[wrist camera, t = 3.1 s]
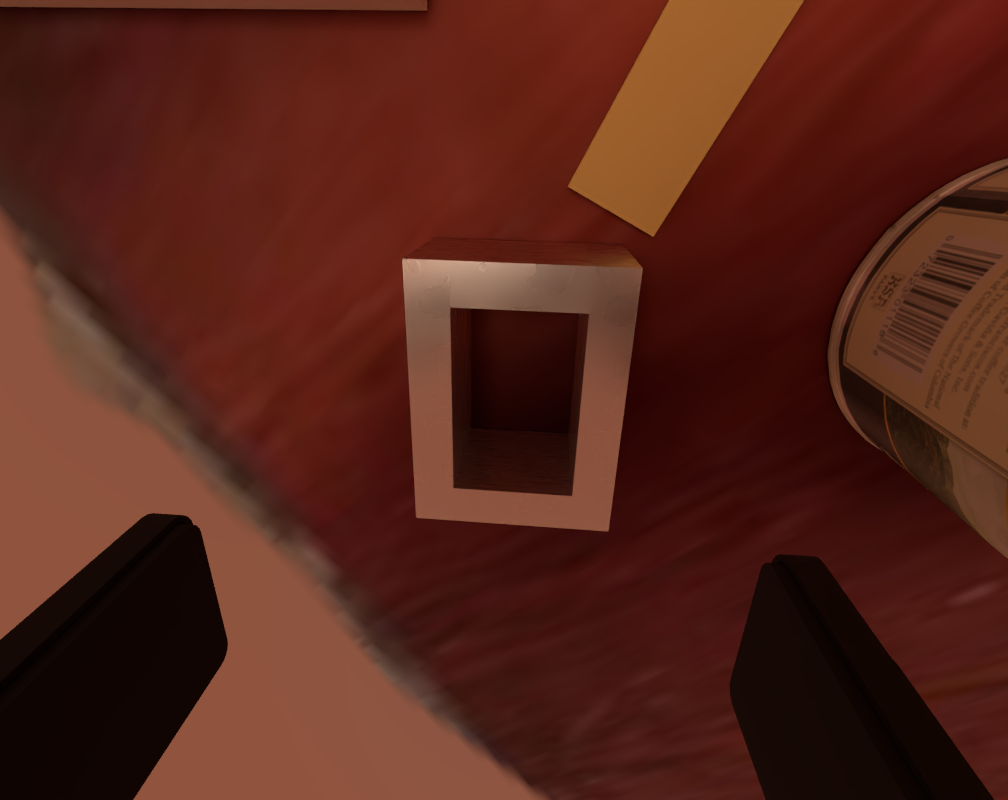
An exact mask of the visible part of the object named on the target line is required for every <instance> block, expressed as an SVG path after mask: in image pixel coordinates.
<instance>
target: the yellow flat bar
mask: <svg viewBox="0 0 1008 800" xmlns="http://www.w3.org/2000/svg"><path fill="white" fill-rule="evenodd" d="M803 1H804V0H668V2H667V4H666V6H665V8H664V9H663V11H662V13H661V15H660V17H659V19H658V21H657V22H656V24H655V26H654V28H653V30H652V32H651V33H650V35H649V37H648V39H647V41H646V43H645V44H644V46H643V48H642V50H641V52H640V54H639V55H638V57H637V59H636V61H635V63H634V65H633V67H632V68H631V70H630V72H629V74H628V76H627V78H626V79H625V81H624V83H623V85H622V87H621V89H620V90H619V92H618V94H617V96H616V98H615V100H614V101H613V103H612V105H611V107H610V109H609V111H608V113H607V114H606V116H605V118H604V120H603V122H602V124H601V125H600V127H599V129H598V131H597V133H596V135H595V136H594V138H593V140H592V142H591V144H590V146H589V148H588V149H587V151H586V153H585V155H584V157H583V159H582V160H581V162H580V164H579V166H578V168H577V170H576V171H575V173H574V175H573V177H572V179H571V181H570V182H569V184H568V187H569V188H571V189H573V190H574V191H576V192H578V193H579V194H581V195H583V196H584V197H586V198H588V199H590V200H591V201H593V202H595V203H596V204H598V205H600V206H601V207H603V208H605V209H607V210H608V211H610V212H612V213H613V214H615V215H617V216H618V217H620V218H622V219H624V220H625V221H627V222H629V223H630V224H632V225H634V226H635V227H637V228H639V229H641V230H642V231H644V232H646V233H647V234H649V235H651V236H652V237H654V235H655V234H656V232H657V231H658V229H659V227H660V226H661V224H662V223H663V221H664V220H665V218H666V216H667V215H668V213H669V212H670V210H671V209H672V207H673V205H674V204H675V202H676V201H677V199H678V198H679V196H680V194H681V193H682V191H683V190H684V188H685V187H686V185H687V183H688V182H689V180H690V179H691V177H692V176H693V174H694V173H695V171H696V169H697V168H698V166H699V165H700V163H701V162H702V160H703V158H704V157H705V155H706V154H707V152H708V151H709V149H710V147H711V146H712V144H713V143H714V141H715V140H716V138H717V136H718V135H719V133H720V132H721V130H722V129H723V127H724V125H725V124H726V122H727V121H728V119H729V118H730V116H731V114H732V113H733V111H734V110H735V108H736V107H737V105H738V103H739V102H740V100H741V99H742V97H743V96H744V94H745V92H746V91H747V89H748V88H749V86H750V85H751V83H752V81H753V80H754V78H755V77H756V75H757V74H758V72H759V70H760V69H761V67H762V66H763V64H764V63H765V61H766V59H767V58H768V56H769V55H770V53H771V52H772V50H773V48H774V47H775V45H776V44H777V42H778V41H779V39H780V37H781V36H782V34H783V33H784V31H785V30H786V28H787V27H788V25H789V23H790V22H791V20H792V19H793V17H794V16H795V14H796V12H797V11H798V9H799V8H800V6H801V5H802V3H803Z"/></svg>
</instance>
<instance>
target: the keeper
mask: <svg viewBox="0 0 1008 800" xmlns="http://www.w3.org/2000/svg"><path fill="white" fill-rule="evenodd" d="M0 7H82V8H193V9H304V10H415V11H427V0H0Z"/></svg>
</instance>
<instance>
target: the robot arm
mask: <svg viewBox="0 0 1008 800" xmlns="http://www.w3.org/2000/svg"><path fill="white" fill-rule="evenodd" d="M227 646H228V642H227V636H226V632H225V628H224V624H223V620H222V616H221V612H220V608H219V604H218V600H217V596H216V591H215V587H214V583H213V580H212V575H211V571H210V567H209V563H208V559H207V555H206V551H205V547H204V543H203V538H202V535H201V531H200V529H199V528H198V527H197V526H196V525H193V523H192V521H191V520H190V519H189V518H188V517H187V516H183V515H170V514H154V513H153V514H148V515H146V516H144V517H143V518H141V519H140V520H139V521H138V522H137V523H136V524H134V525H133V526H132V527H131V528H130V529H128V530H127V531H126V532H125V533H124V534H123V535H121V536H120V537H119V538H118V539H117V540H116V541H114V542H113V543H112V544H111V545H110V546H109V547H108V548H107V549H105V550H104V551H103V552H102V553H101V554H99V555H98V556H97V557H96V558H95V559H94V560H92V561H91V562H90V563H89V564H88V565H87V566H86V567H84V568H83V569H82V570H81V571H80V572H79V573H77V574H76V575H75V576H74V577H73V578H72V579H70V580H69V581H68V582H67V583H66V584H65V585H64V586H62V587H61V588H60V589H59V590H58V591H56V592H55V593H54V594H53V595H52V596H51V597H50V598H48V599H47V600H46V601H45V602H44V603H43V604H41V605H40V606H39V607H38V608H37V609H36V610H34V612H32V613H31V614H30V615H29V616H28V617H26V618H25V619H24V620H23V621H22V622H21V623H19V624H18V625H17V626H16V627H15V628H14V629H12V630H11V631H10V632H9V633H8V634H7V635H5V636H4V637H3V638H2V639H1V640H0V800H133V799H134V798H135V796H136V795H137V793H138V791H139V790H140V788H141V787H142V785H143V784H144V782H145V781H146V779H147V778H148V776H149V775H150V773H151V772H152V770H153V769H154V767H155V765H156V764H157V762H158V761H159V759H160V758H161V756H162V755H163V753H164V752H165V750H166V749H167V747H168V746H169V744H170V743H171V741H172V739H173V738H174V737H175V735H176V733H177V732H178V730H179V729H180V727H181V726H182V724H183V723H184V721H185V720H186V718H187V717H188V715H189V714H190V712H191V711H192V709H193V707H194V706H195V704H196V703H197V701H198V700H199V698H200V697H201V695H202V694H203V692H204V690H205V689H206V687H207V686H208V685H209V683H210V681H211V680H212V678H213V677H214V675H215V674H216V672H217V671H218V669H219V668H220V666H221V664H222V663H223V661H224V658H225V656H226V652H227ZM730 695H731V701H732V705H733V708H734V711H735V714H736V716H737V719H738V722H739V725H740V728H741V731H742V733H743V736H744V739H745V742H746V745H747V748H748V751H749V753H750V756H751V759H752V762H753V765H754V768H755V770H756V773H757V776H758V779H759V782H760V785H761V787H762V790H763V793H764V796H765V799H766V800H994V799H993V797H992V796H991V795H990V793H989V792H988V790H987V789H986V788H985V786H984V785H983V783H982V782H981V781H980V779H979V778H978V776H977V775H976V774H975V772H974V771H973V769H972V768H971V767H970V765H969V764H968V763H967V761H966V760H965V758H964V757H963V756H962V754H961V753H960V751H959V750H958V749H957V747H956V746H955V744H954V743H953V742H952V740H951V739H950V737H949V736H948V735H947V733H946V732H945V730H944V729H943V728H942V726H941V725H940V723H939V722H938V721H937V719H936V718H935V716H934V715H933V714H932V712H931V711H930V709H929V708H928V707H927V705H926V704H925V702H924V701H923V700H922V698H921V697H920V695H919V694H918V693H917V691H916V690H915V688H914V687H913V686H912V684H911V683H910V681H909V680H908V679H907V677H906V676H905V674H904V673H903V672H902V670H901V669H900V667H899V666H898V665H897V664H896V663H895V661H894V660H893V659H892V658H891V657H890V656H889V654H888V653H887V652H886V650H885V649H884V647H883V646H882V644H881V643H880V642H879V640H878V639H877V637H876V636H875V635H874V633H873V632H872V630H871V629H870V628H869V626H868V625H867V623H866V622H865V621H864V619H863V618H862V616H861V615H860V614H859V612H858V611H857V609H856V608H855V607H854V605H853V604H852V602H851V601H850V600H849V598H848V597H847V595H846V594H845V592H844V591H843V590H842V588H841V587H840V585H839V584H838V583H837V581H836V580H835V578H834V577H833V576H832V574H831V573H830V571H829V570H828V569H827V567H826V566H825V564H824V563H823V562H822V561H821V560H820V559H819V558H817V557H813V556H797V555H782V554H780V555H776V557H775V558H774V559H773V561H772V563H765V564H764V565H763V566H762V568H761V571H760V575H759V578H758V582H757V586H756V589H755V593H754V596H753V600H752V604H751V607H750V611H749V615H748V618H747V622H746V625H745V629H744V633H743V636H742V640H741V644H740V647H739V651H738V654H737V658H736V662H735V665H734V669H733V673H732V676H731V681H730Z"/></svg>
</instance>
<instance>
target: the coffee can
mask: <svg viewBox="0 0 1008 800" xmlns="http://www.w3.org/2000/svg"><path fill="white" fill-rule="evenodd" d="M828 366H829V378H830V383H831V386H832V389H833V393H834V396H835V399H836V401H837V404H838V406H839V407H840V409H841V411H842V413H843V414H844V416H845V417H846V419H847V420H848V422H849V423H850V424H851V425H852V427H853V428H854V429H855V430H856V431H857V432H858V433H859V434H860V435H861V436H862V437H863V438H864V439H865V440H866V441H868V442H869V443H871V444H872V445H874V446H875V447H876V448H878V449H879V450H881V451H883V452H884V453H886V454H887V455H888V456H889V457H890V458H891V459H893V460H894V461H895V462H896V463H898V464H899V465H900V466H901V467H903V468H904V469H905V470H906V471H907V472H908V473H909V474H911V475H912V476H913V477H914V478H915V479H916V480H917V481H919V482H920V483H921V484H922V485H923V486H924V487H925V488H927V489H928V490H929V491H931V492H932V493H933V494H934V495H935V496H936V497H937V498H938V499H939V500H940V501H941V502H943V503H944V504H945V505H946V506H947V507H948V508H950V509H951V510H952V511H953V512H954V513H955V514H956V515H958V516H959V517H960V518H961V519H962V520H963V521H965V522H966V523H967V524H968V525H969V526H970V527H972V528H973V529H974V530H975V531H976V532H977V533H978V534H980V535H981V536H982V537H983V538H984V539H985V540H986V541H988V542H989V543H990V544H991V545H992V546H993V547H994V548H996V549H997V550H998V551H999V552H1000V553H1001V554H1003V555H1004V556H1005V557H1006V558H1007V559H1008V158H1007V159H1003V160H1000V161H996V162H993V163H991V164H988V165H986V166H983V167H981V168H979V169H976V170H974V171H972V172H969V173H967V174H965V175H963V176H961V177H959V178H957V179H955V180H954V181H952V182H950V183H948V184H946V185H945V186H943V187H942V188H940V189H938V190H937V191H935V192H933V193H932V194H930V195H929V196H928V197H926V198H925V199H923V200H922V201H921V202H919V203H918V204H917V205H915V206H914V207H913V208H912V209H910V210H909V211H908V212H907V213H906V214H904V215H903V216H902V217H901V218H900V219H899V220H898V221H897V222H896V223H895V224H894V225H892V226H891V227H890V228H889V229H887V230H886V232H885V233H884V235H883V236H882V237H881V238H880V239H879V241H878V242H877V243H876V244H875V245H874V247H873V248H872V249H871V251H870V252H869V253H868V255H867V256H866V257H865V259H864V260H863V261H862V263H861V264H860V265H859V267H858V268H857V270H856V272H855V273H854V275H853V276H852V278H851V280H850V282H849V284H848V285H847V287H846V289H845V291H844V293H843V295H842V298H841V300H840V303H839V305H838V307H837V311H836V314H835V317H834V320H833V324H832V328H831V333H830V340H829V346H828Z"/></svg>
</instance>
